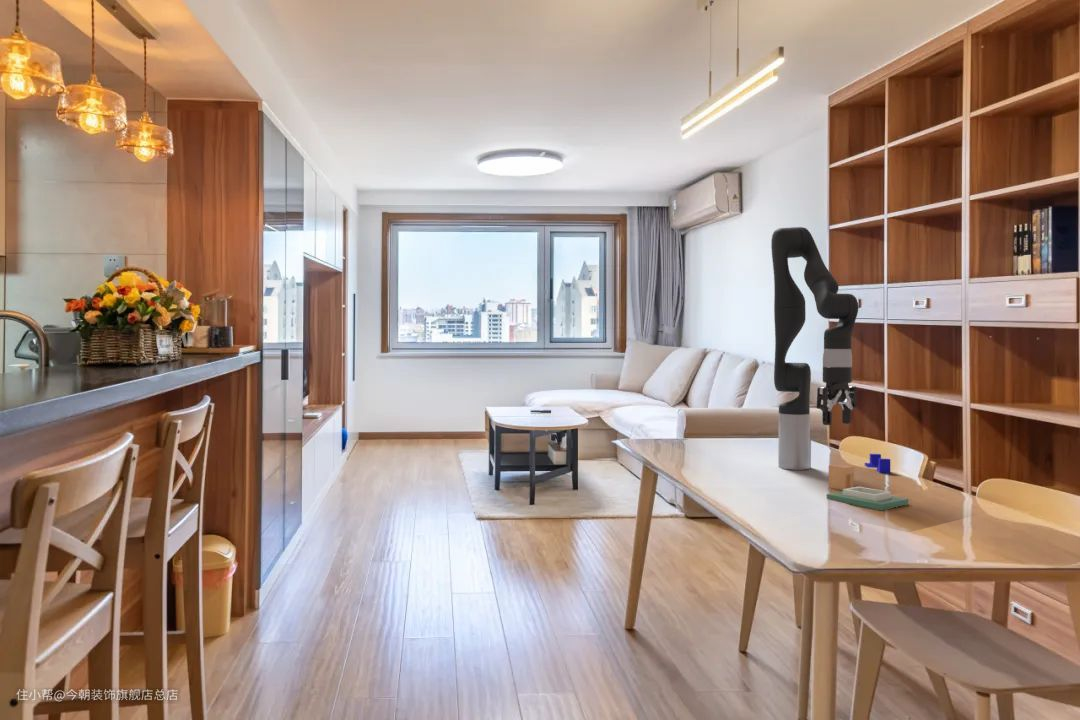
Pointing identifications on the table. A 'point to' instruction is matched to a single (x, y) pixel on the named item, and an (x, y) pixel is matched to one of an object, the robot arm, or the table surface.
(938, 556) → the table surface
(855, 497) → the board
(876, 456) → the cable clip
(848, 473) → the tan rectangular block
